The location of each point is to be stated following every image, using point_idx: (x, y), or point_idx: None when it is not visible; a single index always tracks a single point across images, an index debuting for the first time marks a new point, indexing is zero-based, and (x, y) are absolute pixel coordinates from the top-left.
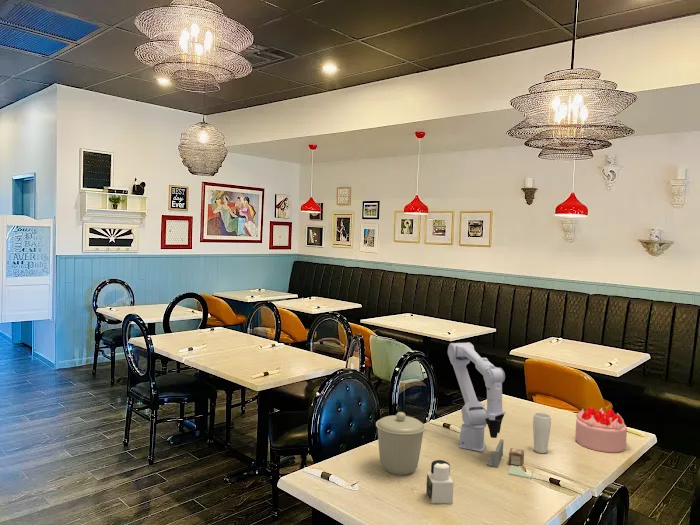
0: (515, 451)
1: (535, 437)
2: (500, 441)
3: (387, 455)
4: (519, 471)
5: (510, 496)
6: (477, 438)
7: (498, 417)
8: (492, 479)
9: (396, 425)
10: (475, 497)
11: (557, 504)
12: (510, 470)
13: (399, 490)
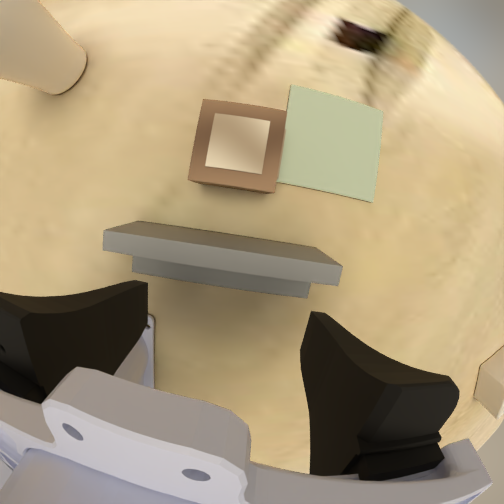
0: (252, 150)
1: (40, 66)
2: (142, 250)
3: None
4: (339, 148)
5: (494, 213)
6: (127, 368)
7: (61, 365)
8: (423, 267)
9: None
10: (498, 304)
11: (487, 94)
12: (342, 189)
13: (455, 432)
